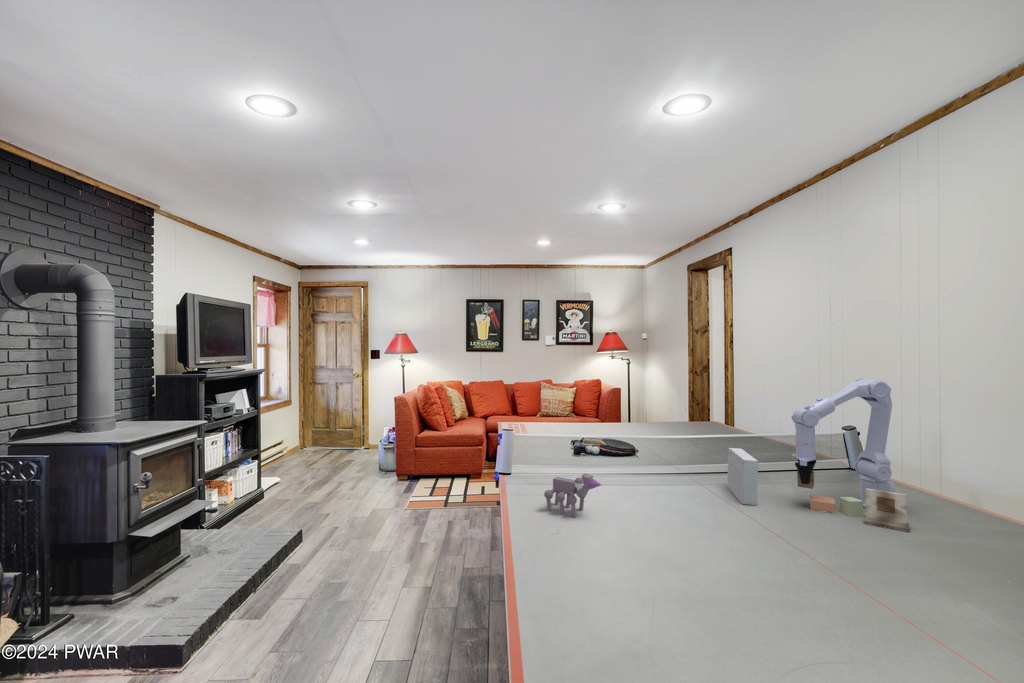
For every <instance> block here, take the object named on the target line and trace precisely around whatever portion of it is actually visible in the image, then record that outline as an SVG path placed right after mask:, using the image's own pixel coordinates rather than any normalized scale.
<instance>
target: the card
mask: <svg viewBox="0 0 1024 683" xmlns="http://www.w3.org/2000/svg"><path fill="white" fill-rule="evenodd" d="M907 503H908V502H907V494H905V493H897V492H896V493H893V492H886V491H879V490H873V489H866V507H865V514H863V524H864V523H866V524H865V525H868V524H871V525H870V526H873V525H876V526H875V527H878V526H881V527H880V528H884V527H886V528H885V529H889V528H890V530H894V529H895V530H896V531H899V530H900V531H901V532H905V533H910V531H911V530H910V529H911V528H910V524H909V522H908V519H907V518H908V517H907V516H908V515H907V514H908V513H907V512H908V511H907V510H908V508H907V507H908V506H907V505H908V504H907ZM895 530H894V531H895ZM900 531H899V532H900Z"/></svg>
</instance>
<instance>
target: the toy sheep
mask: <svg viewBox="0 0 1024 683" xmlns="http://www.w3.org/2000/svg"><path fill="white" fill-rule="evenodd" d="M601 486H602V483H600V482H598V481H597V480H596V479H594V475H593V474H589V473H583V474H582V476H581V477H576V478H575V479H573V478H567V477H566V478H565V477H561V476H556V477H554V478H553V479H552V489H551V490H550V489H547V490H545V491H544V494H543V496H544V498H545V499H546V507H547V512H551V511H552V501H551V500H552V498H553V497H554V505H556V506H559V512H560V515H561V516H562V515H564V514H565V508H564V507H567V508H571V517H572V518H577V510H576V504H577V501H578V498H579V508H578V510H579V511H583V512H584V506H585V505H584V504H585V498H586V497H587V495H588V493H589V491H590V490H592V489H594V488H595V489H596V488H597V487H598V488H599V487H601ZM554 494H555V496H554ZM575 495H576V496H575ZM577 497H578V498H577ZM565 499H566V504H564V501H565Z"/></svg>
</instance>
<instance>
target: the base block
mask: <svg viewBox="0 0 1024 683" xmlns="http://www.w3.org/2000/svg"><path fill="white" fill-rule="evenodd" d="M809 508H811V509H813V510H812V511H815V510H820V511H819V512H821V511H826V512H825V513H828V512H833V513H832V514H834V513H835V514H836V500H835V498H834V497H829V496H828V497H827V496H821V495H813V494H809ZM811 509H810V510H811Z"/></svg>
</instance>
